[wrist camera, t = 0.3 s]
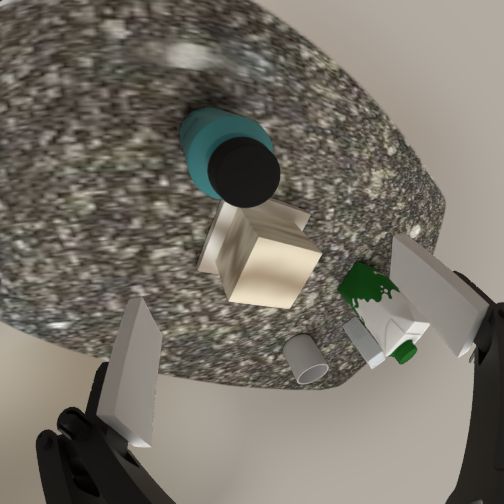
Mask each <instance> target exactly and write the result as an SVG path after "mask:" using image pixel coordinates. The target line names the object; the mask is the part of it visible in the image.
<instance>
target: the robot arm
mask: <svg viewBox="0 0 504 504" xmlns="http://www.w3.org/2000/svg"><path fill="white" fill-rule="evenodd" d="M0 1H1V0H0ZM389 279H390V280H391V281H392V282H393V283H394V284H395V285H396V286H397V287H398V288H399V289H400V291H401V292H402V293H403V294H404V295H405V296H406V297H407V298H408V299H409V300H410V302H411V303H412V304H413V305H414V306H415V307H416V308H417V309H418V311H419V312H420V313H421V314H422V315H423V316H424V317H425V319H426V320H427V321H428V322H429V323H430V325H431V326H432V327H433V328H434V329H435V330H436V332H437V333H438V334H439V335H440V336H441V338H442V339H443V340H444V341H445V343H446V344H447V345H448V346H449V348H450V349H451V350H452V351H453V353H454V354H455V355H456V356H457V358H458V357H460V356H462V355H463V354H465V353H466V352H467V351H469V349H470V347H471V345H472V343H473V342H474V343H475V344H476V345H477V346H476V348H475V350H474V352H473V354H472V356H471V357H470V359H469V362H470V363H471V361H472V359H473V358H474V356H475V361H474V364H475V367H474V389H473V401H472V411H471V419H470V426H469V433H468V439H467V444H466V449H465V454H464V459H463V463H462V467H461V471H460V475H459V479H458V482H457V485H456V487H455V489H454V491H453V492H452V494H451V495H450V496H449V498H448V499H447V501H446V503H445V504H504V302H502V303H497V304H496V303H494V302H493V301H492V300H491V299H490V298H489V297H488V296H487V295H486V294H485V293H484V292H483V291H482V290H480V289H479V288H478V287H476V285H475V284H474V283H472V282H471V281H470V280H469V279H468V278H467V277H466V276H464V275H463V274H461V273H459V272H457V271H453V272H452V271H451V270H450V269H449V268H447V266H445V265H444V264H443V263H442V262H440V261H439V260H438V259H437V258H436V257H434V256H433V255H432V254H431V253H429V252H428V251H427V250H425V249H424V248H423V247H422V246H420V245H419V244H418V243H416V242H415V241H414V240H412V239H411V238H410V237H408V236H407V235H406V234H404V233H403V234H399V235H395V236H393V245H392V258H391V269H390V278H389ZM161 343H162V334H161V333H160V331H159V329H158V327H157V325H156V323H155V321H154V319H153V317H152V316H151V314H150V312H149V310H148V308H147V306H146V304H145V302H144V300H143V298H142V297H140V298H135V299H130V300H129V301H128V304H127V307H126V310H125V313H124V316H123V319H122V322H121V325H120V328H119V331H118V334H117V337H116V341H115V344H114V347H113V351H112V354H111V357H110V361H109V362H103V363H102V364H101V365H100V367H99V368H98V370H97V371H96V374H95V378H94V383H93V385H92V391H91V392H90V396H89V400H88V404H87V408H86V412H85V414H84V413H83V412H82V411H81V410H80V409H78V408H76V407H69V408H67V409H65V410H64V411H63V412H62V413H61V414H60V415H59V417H58V420H57V429H58V430H59V431H60V432H61V433H62V434H61V435H57V434H56V433H55V432H53V431H52V430H49V429H48V430H44V431H42V432H41V433H40V434H39V435H38V437H37V440H36V451H37V459H38V466H39V472H40V477H41V482H42V487H43V491H44V495H45V500H46V504H176V503H175V502H174V501H173V500H172V499H171V498H170V497H169V496H168V495H167V494H166V493H165V492H164V491H163V490H162V488H160V486H159V485H158V484H157V483H156V482H155V481H154V479H153V478H152V477H151V476H150V475H149V474H148V472H147V471H146V470H145V469H144V468H143V467H142V465H141V464H140V463H139V461H138V460H137V459H136V458H135V456H134V455H133V454H132V453H131V451H130V450H128V449H127V446H128V442H129V443H131V444H132V445H133V446H135V447H152V431H153V417H154V404H155V394H156V384H157V375H158V366H159V358H160V351H161Z"/></svg>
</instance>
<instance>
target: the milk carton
mask: <svg viewBox="0 0 504 504" xmlns="http://www.w3.org/2000/svg"><path fill="white" fill-rule="evenodd" d="M337 290H338V291H339V293H340V294H341V295H342V296H343V297H344V299H345V300H346V301H347V302H348V304H349V305H350V306H351V307H352V309H353V310H354V311H355V313H356V314H357V315H358V316H359V318H360V319H361V320H362V322H363V323H364V324H365V325H366V327H367V328H368V329H369V331H370V332H371V333H372V335H373V336H374V337H375V339H376V340H377V342H378V344H379V346H380V348H381V350H382V352H383V354H384V356H392V357H395V358H396V360H397V361H398V362H399V364H404V363H405V362H407V361H408V360H409V359H411V358H412V357H413V356H414V354H415V353H416V352H417V348H416V346H415V345H414V344H415V343H416V341H417V340H418V339H420V337H421V336H422V335H423V333H424V331H425V330H426V329H427V328H428V326H429V325H430V323H429V322H428V321H427V320H426V319H425V317H424V316H423V315H422V314H421V313H420V312H419V311H418V309H417V308H416V307H415V306H414V305H413V304H412V303H411V302H410V300H409V299H408V298H407V297H406V296H405V295H404V294H403V293H402V292H401V291H400V289H399V288H398V287H397V286H396V285H395V284H394V283H393V282H392V281H391V280H390V279H389V278H388V277H387V276H386V275H384V274H383V273H382V272H380V271H379V270H377V269H376V268H374V267H371V266H368V265H365V264H363V263H360V262H357V261H356V263H355V264H354V266H353V267H352V269H351V270H350V272H349V273H348V275H347V276H346V278H345V279H344V281H343V282H342V284H341V285H340V286H339V288H338V289H337Z"/></svg>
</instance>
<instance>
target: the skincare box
mask: <svg viewBox="0 0 504 504" xmlns="http://www.w3.org/2000/svg"><path fill="white" fill-rule="evenodd" d="M342 327H343V328H344V330H345V332H346V333H347V335H348V336H349V338H350V339H351V341H352V342H353V343H354V345H355V346H356V348H357V349H358V350H359V352H360V353H361V355H362V356H363V358H364V359H365V361H366V362H367V364H368V365H369V366H370V368H371V369H373V368H374V367H376V366H377V365H379V364H380V363H381V362H383V361H384V360H385V356H384V354H383V352H382V350H381V348H380V347H379V345H378V344H377V343H376V341H375V340H374V339H373V337H372V336H371V335H370V333H369V332H368V331H367V330H366V328H365V327H364V326H363V324H362V323H361V322H360V321H359V319H358V318H357V317H356V316H355V317H353V318H352V319H351V320H349V321H348V322H347V323H345V324H344V325H343V326H342Z"/></svg>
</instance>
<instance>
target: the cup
mask: <svg viewBox="0 0 504 504" xmlns="http://www.w3.org/2000/svg"><path fill="white" fill-rule="evenodd" d="M283 353H284V355H285V357H286V359H287V361H288V364H289V366H290V368H291V370H292V372H293V374H294V376H295V378H296V380H297V382H298V383H299V384H308V383H311V382H313V381H316V380H317V379H319V378H320V377H322V376H323V375H324V374H325V373H326V372H327V370H328V365H327V363H326V362H325V360H324V358H323V356H322V355H321V353H320V351H319V350H318V348H317V346H316V344H315V343H314V341H313V339H312V338H311V336H309V335H306V334H300V335H297V336H294V337H293V338H291V339H289V340H288V341H287V342H286V343H285V345H284V347H283Z"/></svg>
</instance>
